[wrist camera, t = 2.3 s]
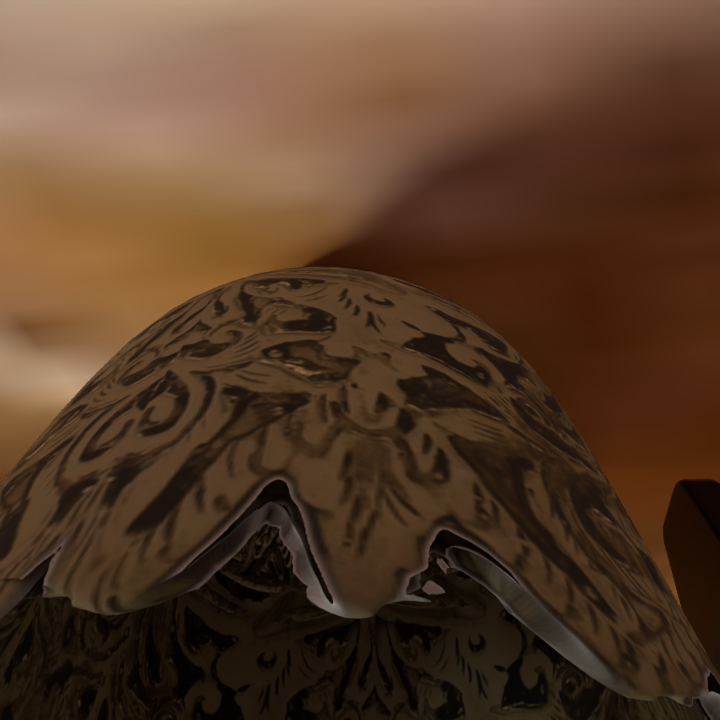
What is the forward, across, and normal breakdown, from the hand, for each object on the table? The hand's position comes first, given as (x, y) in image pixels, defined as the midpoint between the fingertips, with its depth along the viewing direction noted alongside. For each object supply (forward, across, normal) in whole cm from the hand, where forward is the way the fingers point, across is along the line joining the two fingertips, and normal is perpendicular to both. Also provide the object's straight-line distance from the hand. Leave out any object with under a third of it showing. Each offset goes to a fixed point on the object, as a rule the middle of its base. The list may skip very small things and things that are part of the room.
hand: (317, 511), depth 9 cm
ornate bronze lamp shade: (+4, 0, 0) cm, 4 cm away
